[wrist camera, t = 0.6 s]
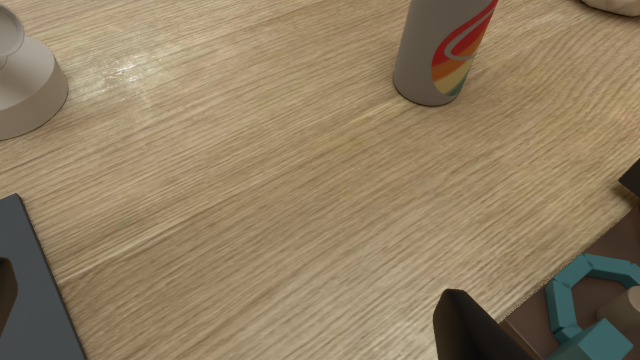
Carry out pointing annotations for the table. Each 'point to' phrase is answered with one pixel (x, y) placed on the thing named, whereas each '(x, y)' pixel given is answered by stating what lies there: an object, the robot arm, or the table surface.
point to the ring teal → (576, 344)
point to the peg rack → (587, 298)
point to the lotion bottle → (439, 48)
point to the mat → (33, 295)
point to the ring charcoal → (632, 178)
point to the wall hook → (26, 79)
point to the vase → (617, 6)
